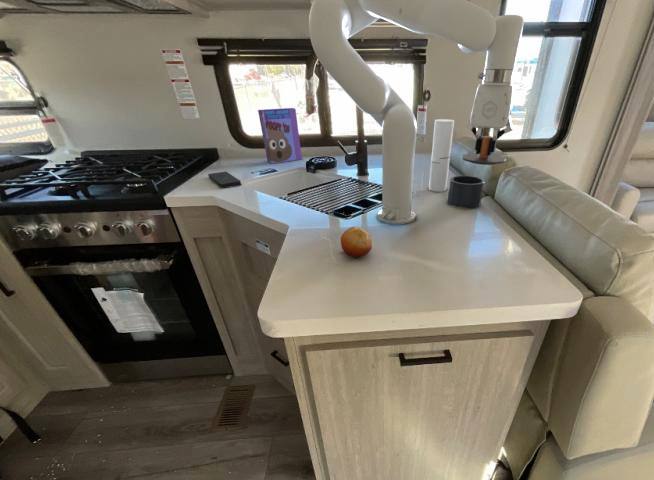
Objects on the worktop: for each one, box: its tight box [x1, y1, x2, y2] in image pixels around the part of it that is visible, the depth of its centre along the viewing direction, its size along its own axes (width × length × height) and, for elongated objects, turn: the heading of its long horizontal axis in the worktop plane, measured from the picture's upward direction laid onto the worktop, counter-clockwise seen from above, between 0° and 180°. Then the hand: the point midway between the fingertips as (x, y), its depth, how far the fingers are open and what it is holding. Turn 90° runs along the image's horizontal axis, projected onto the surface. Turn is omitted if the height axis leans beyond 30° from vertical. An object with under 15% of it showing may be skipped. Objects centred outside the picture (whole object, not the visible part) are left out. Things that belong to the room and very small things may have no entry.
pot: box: [447, 175, 485, 210], centre depth 117 cm, size 12×12×8 cm
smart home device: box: [207, 171, 242, 189], centre depth 139 cm, size 8×2×20 cm
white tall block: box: [428, 118, 455, 193], centre depth 126 cm, size 7×7×25 cm
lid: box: [461, 135, 507, 166], centre depth 94 cm, size 13×13×7 cm
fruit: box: [340, 226, 373, 259], centre depth 83 cm, size 8×8×8 cm
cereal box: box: [257, 107, 303, 165], centre depth 166 cm, size 17×5×24 cm, turn 130°
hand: (484, 153), depth 95 cm, fingers closed on lid, 2 cm apart
